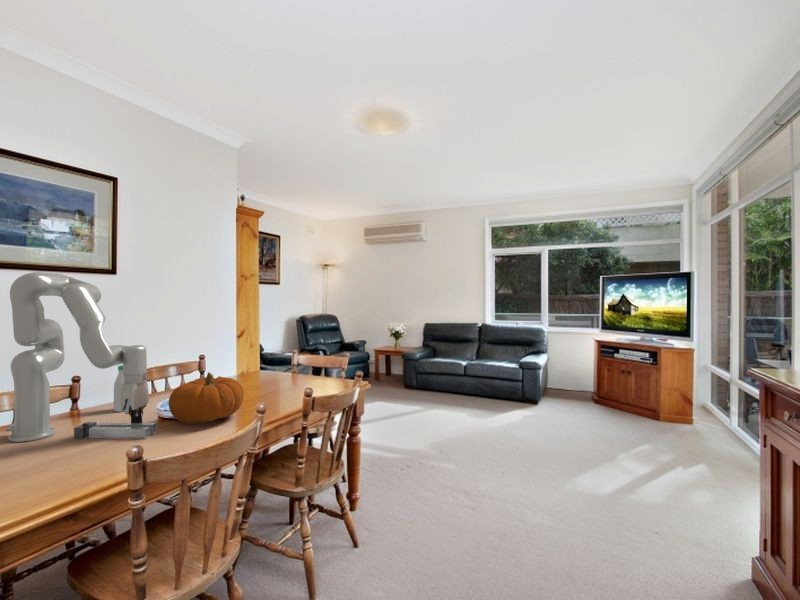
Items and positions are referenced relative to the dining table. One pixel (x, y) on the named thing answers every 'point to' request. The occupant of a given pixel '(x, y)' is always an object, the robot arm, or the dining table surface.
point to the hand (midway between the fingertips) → (136, 425)
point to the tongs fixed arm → (110, 431)
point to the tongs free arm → (130, 425)
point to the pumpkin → (206, 399)
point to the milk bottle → (118, 390)
